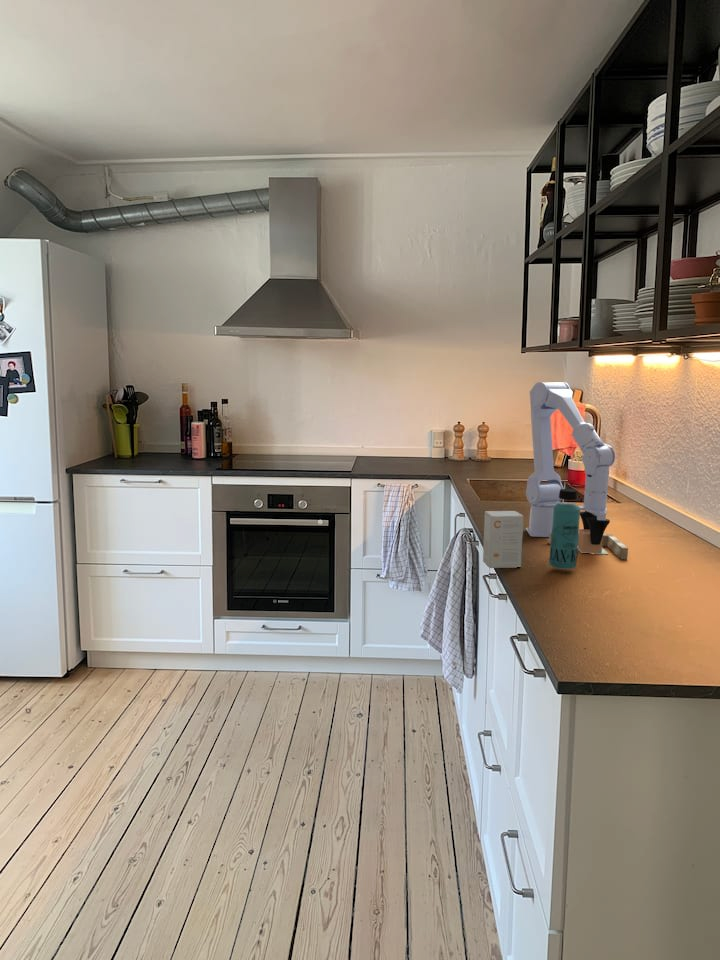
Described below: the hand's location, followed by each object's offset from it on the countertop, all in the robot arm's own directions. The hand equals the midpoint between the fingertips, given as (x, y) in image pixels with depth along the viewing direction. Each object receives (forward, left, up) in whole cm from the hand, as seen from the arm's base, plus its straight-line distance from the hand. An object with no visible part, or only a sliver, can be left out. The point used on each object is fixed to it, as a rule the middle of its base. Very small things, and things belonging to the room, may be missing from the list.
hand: (592, 541), depth 192 cm
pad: (0, 0, -3) cm, 3 cm away
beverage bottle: (+21, -12, -3) cm, 24 cm away
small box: (+17, -26, -3) cm, 31 cm away
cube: (0, 0, -2) cm, 2 cm away
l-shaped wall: (+1, -2, -3) cm, 3 cm away
